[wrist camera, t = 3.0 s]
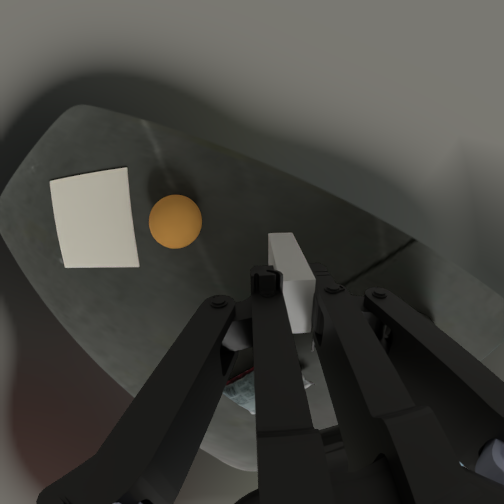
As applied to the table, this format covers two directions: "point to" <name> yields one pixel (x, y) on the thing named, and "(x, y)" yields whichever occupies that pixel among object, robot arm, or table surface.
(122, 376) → the table surface
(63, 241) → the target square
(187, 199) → the ball
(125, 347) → the table surface
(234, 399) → the packaged food
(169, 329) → the table surface
